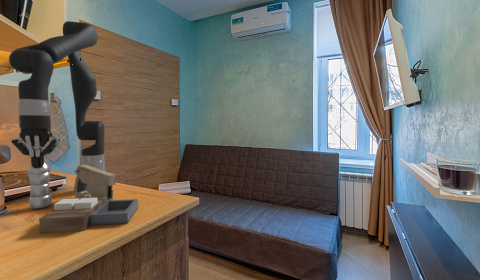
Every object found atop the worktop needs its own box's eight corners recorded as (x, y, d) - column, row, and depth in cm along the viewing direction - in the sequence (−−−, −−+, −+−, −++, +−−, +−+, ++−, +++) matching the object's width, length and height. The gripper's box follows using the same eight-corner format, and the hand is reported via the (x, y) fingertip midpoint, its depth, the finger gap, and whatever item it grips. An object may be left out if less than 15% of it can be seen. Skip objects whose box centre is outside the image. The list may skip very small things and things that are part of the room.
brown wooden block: (72, 210, 86) (71, 198, 86) (107, 208, 88) (106, 197, 88) (40, 233, 68) (39, 218, 68) (84, 230, 71) (84, 215, 70)
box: (107, 209, 87) (106, 200, 87) (138, 207, 89) (138, 198, 89) (90, 225, 74) (90, 215, 73) (127, 223, 76) (127, 213, 75)
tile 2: (81, 203, 80) (81, 198, 80) (97, 203, 81) (97, 197, 81) (74, 209, 75) (74, 203, 75) (91, 208, 76) (91, 202, 76)
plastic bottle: (38, 204, 91) (35, 154, 90) (56, 204, 92) (53, 154, 90) (24, 210, 85) (21, 157, 83) (43, 210, 85) (40, 157, 84)
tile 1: (63, 204, 79) (62, 199, 79) (79, 203, 80) (79, 198, 80) (54, 210, 74) (54, 204, 74) (71, 209, 75) (71, 203, 75)
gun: (72, 197, 100) (73, 163, 98) (80, 195, 103) (81, 162, 101) (107, 213, 89) (108, 175, 87) (115, 210, 92) (116, 174, 90)
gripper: (64, 115, 78) (67, 165, 80) (19, 114, 76) (22, 166, 77) (51, 114, 71) (54, 169, 72) (0, 113, 69) (4, 171, 70)
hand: (37, 168), depth 75 cm, fingers closed
